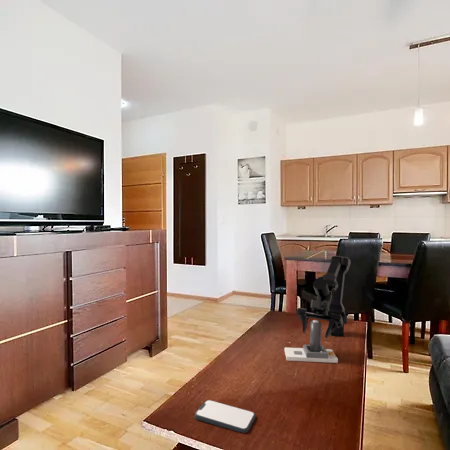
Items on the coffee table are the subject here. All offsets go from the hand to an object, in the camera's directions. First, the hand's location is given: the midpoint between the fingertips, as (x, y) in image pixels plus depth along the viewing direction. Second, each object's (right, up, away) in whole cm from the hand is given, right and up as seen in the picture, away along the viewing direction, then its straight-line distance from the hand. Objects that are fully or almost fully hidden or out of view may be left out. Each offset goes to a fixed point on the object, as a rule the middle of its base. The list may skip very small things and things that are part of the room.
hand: (314, 335), depth 131 cm
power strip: (-1, -9, +2) cm, 10 cm away
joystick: (+1, -8, +1) cm, 8 cm away
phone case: (-37, -10, -40) cm, 55 cm away
